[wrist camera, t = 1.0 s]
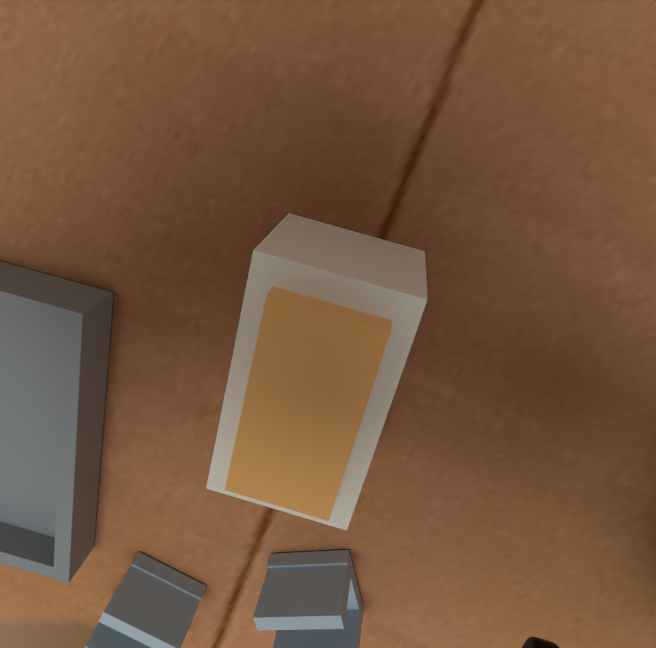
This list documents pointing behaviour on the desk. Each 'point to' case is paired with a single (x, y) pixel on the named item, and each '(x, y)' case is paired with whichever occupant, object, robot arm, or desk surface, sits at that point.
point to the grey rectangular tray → (50, 418)
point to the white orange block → (315, 367)
